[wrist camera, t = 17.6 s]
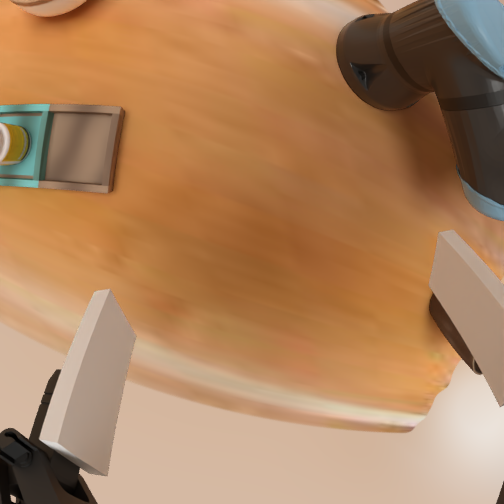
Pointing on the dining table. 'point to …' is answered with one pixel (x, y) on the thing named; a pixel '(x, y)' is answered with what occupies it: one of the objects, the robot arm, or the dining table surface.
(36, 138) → the tray
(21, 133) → the supplement bottle
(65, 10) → the lidded bowl
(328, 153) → the dining table surface
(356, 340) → the dining table surface
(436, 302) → the plant pot
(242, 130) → the dining table surface
